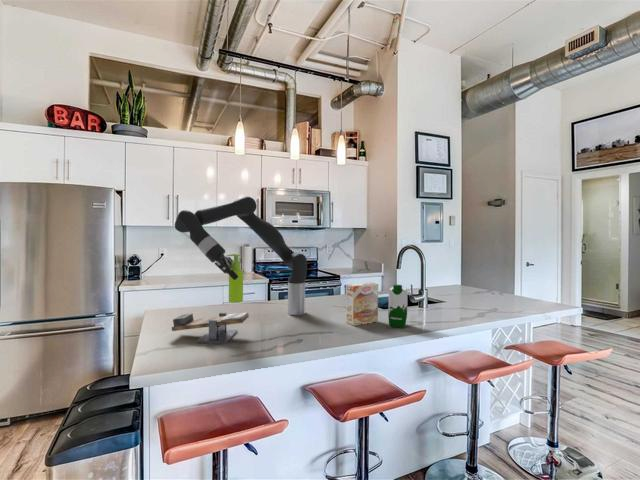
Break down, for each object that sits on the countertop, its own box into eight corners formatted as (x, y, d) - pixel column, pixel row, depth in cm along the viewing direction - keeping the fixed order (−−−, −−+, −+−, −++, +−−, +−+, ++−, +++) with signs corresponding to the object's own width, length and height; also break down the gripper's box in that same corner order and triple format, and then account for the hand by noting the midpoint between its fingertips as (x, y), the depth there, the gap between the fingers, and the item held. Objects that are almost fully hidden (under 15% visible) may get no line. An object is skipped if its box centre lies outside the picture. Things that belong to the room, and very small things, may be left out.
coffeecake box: (353, 326, 167) (353, 285, 166) (345, 322, 173) (345, 283, 172) (378, 322, 174) (378, 283, 173) (370, 319, 180) (370, 281, 179)
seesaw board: (248, 316, 152) (247, 306, 152) (242, 322, 142) (240, 311, 142) (183, 324, 154) (181, 314, 154) (172, 331, 144) (170, 320, 144)
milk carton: (387, 327, 165) (387, 285, 165) (389, 322, 174) (390, 282, 173) (406, 328, 163) (406, 286, 162) (407, 324, 171) (408, 283, 170)
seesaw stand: (237, 332, 156) (237, 312, 156) (225, 343, 140) (225, 321, 140) (211, 331, 157) (211, 311, 157) (196, 343, 141) (196, 321, 141)
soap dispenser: (227, 299, 150) (227, 253, 149) (243, 299, 151) (244, 253, 150) (225, 302, 144) (225, 254, 143) (241, 302, 145) (242, 255, 144)
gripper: (211, 243, 140) (240, 273, 140) (223, 242, 154) (249, 269, 154) (198, 256, 140) (227, 286, 140) (211, 253, 155) (237, 280, 154)
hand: (238, 277), depth 147 cm, fingers closed on soap dispenser, 6 cm apart
